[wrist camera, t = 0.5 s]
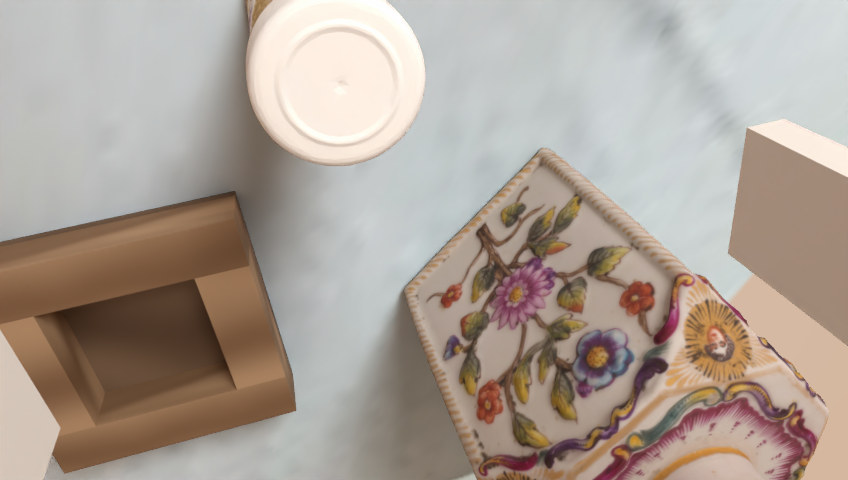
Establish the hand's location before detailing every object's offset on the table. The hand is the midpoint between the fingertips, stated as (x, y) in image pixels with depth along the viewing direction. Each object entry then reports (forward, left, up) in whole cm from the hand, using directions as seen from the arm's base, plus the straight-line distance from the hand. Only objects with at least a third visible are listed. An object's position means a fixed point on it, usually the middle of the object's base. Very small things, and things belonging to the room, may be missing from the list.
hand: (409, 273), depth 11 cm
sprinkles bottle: (-2, 0, -20) cm, 20 cm away
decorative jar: (+15, +10, -20) cm, 27 cm away
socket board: (+12, -11, -20) cm, 26 cm away
